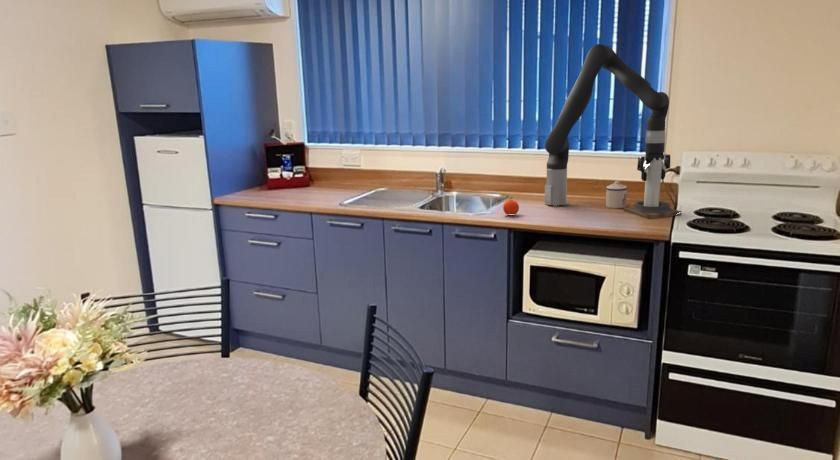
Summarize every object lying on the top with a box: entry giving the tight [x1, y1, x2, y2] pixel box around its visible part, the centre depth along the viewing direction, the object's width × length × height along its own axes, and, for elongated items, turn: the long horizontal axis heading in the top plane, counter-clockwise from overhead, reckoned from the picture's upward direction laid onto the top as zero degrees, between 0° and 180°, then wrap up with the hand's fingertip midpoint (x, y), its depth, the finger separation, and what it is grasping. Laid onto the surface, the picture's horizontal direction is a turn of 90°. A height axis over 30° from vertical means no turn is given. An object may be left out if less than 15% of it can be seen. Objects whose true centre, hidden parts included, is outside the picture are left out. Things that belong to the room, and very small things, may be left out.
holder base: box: [623, 200, 682, 220], centre depth 250 cm, size 16×17×4 cm
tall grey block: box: [643, 160, 663, 207], centre depth 248 cm, size 7×6×21 cm
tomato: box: [502, 199, 520, 215], centre depth 258 cm, size 8×7×7 cm
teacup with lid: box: [605, 180, 628, 209], centre depth 266 cm, size 12×9×12 cm
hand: (653, 180), depth 247 cm, fingers open, 8 cm apart
